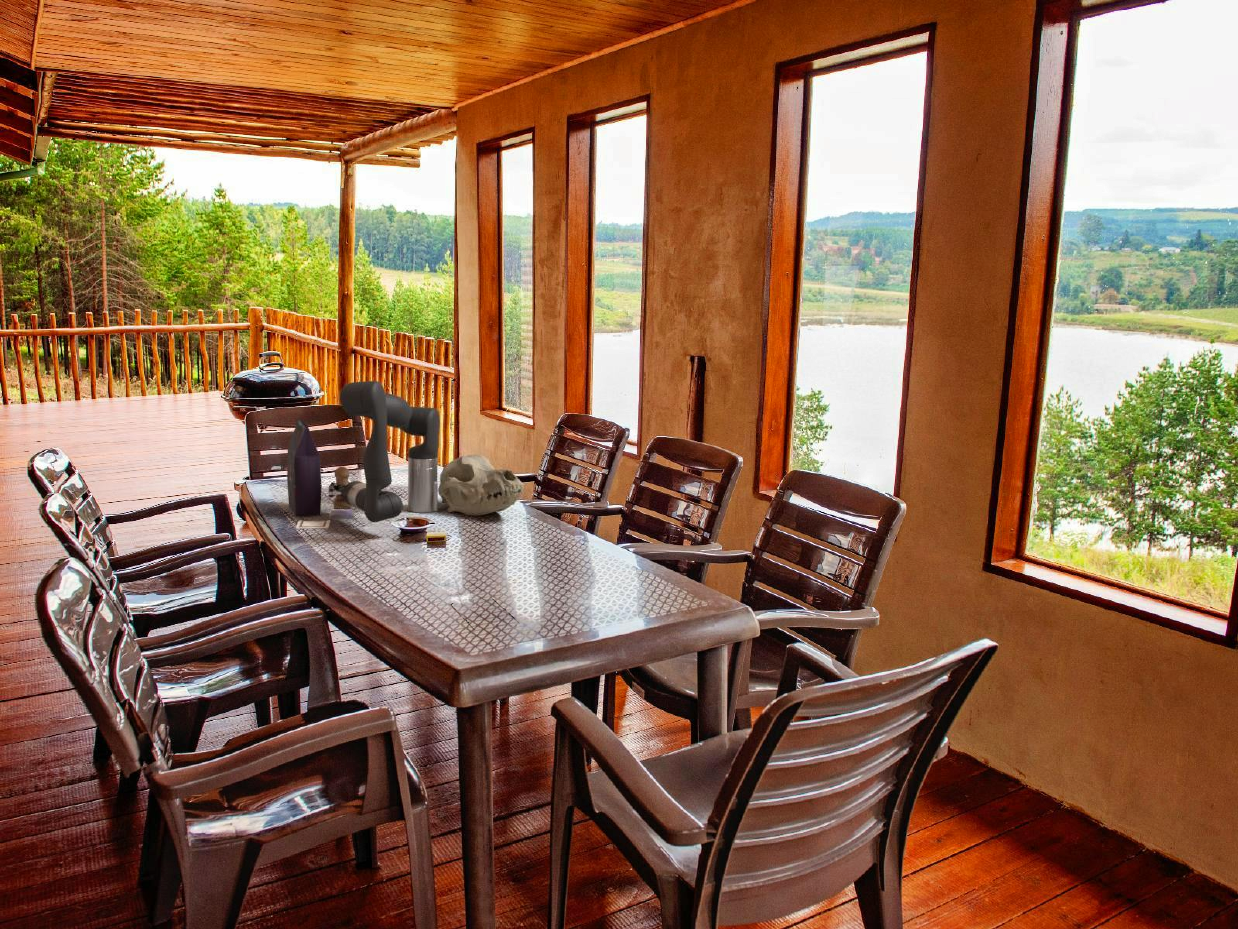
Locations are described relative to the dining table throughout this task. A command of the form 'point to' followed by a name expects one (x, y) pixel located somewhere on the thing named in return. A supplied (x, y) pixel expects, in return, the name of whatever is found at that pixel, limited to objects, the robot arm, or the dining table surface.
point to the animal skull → (478, 486)
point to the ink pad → (341, 514)
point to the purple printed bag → (303, 473)
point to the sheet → (313, 524)
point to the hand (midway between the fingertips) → (338, 484)
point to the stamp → (341, 478)
